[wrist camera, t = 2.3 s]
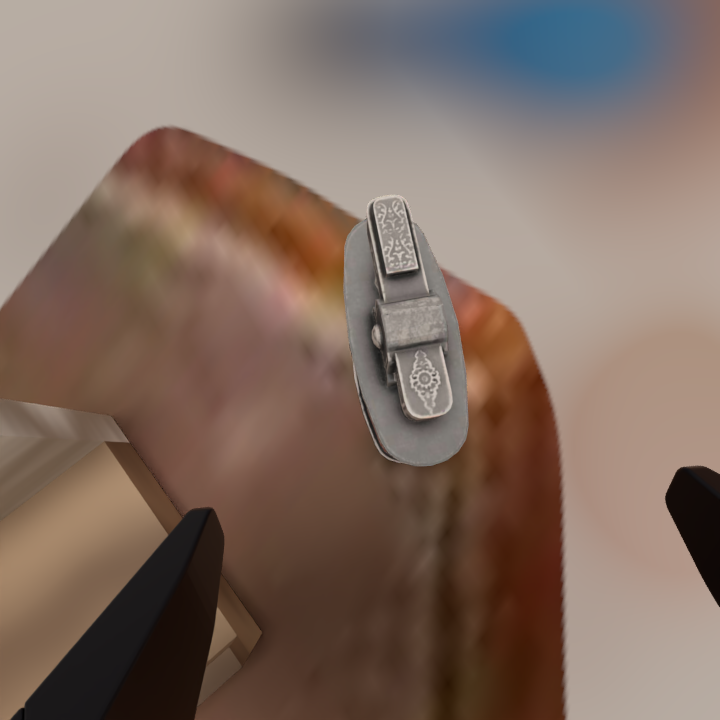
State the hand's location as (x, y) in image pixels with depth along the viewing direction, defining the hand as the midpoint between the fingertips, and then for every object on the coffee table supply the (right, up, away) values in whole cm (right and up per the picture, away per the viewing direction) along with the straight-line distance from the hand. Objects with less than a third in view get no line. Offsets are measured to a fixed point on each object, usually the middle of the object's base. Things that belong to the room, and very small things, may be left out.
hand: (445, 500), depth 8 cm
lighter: (0, +2, +12) cm, 12 cm away
